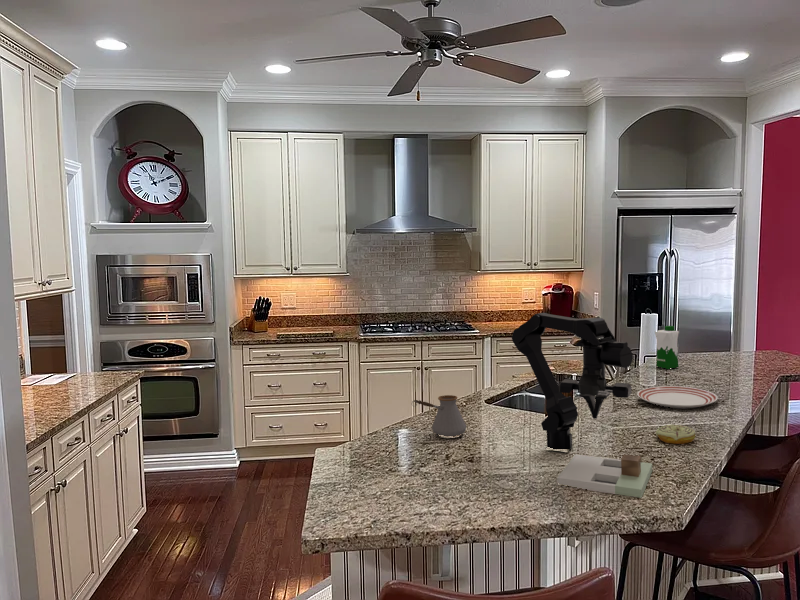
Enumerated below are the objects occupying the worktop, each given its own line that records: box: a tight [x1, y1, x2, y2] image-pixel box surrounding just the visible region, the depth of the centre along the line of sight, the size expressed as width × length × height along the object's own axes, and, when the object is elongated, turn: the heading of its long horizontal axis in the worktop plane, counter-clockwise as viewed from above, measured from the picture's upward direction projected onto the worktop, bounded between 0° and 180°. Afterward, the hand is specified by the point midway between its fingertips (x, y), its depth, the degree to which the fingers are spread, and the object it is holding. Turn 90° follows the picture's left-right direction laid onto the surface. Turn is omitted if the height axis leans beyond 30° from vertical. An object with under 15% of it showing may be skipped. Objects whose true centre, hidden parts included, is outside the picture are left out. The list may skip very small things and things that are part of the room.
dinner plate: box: [636, 385, 718, 409], centre depth 223 cm, size 27×27×3 cm
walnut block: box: [620, 453, 642, 477], centre depth 150 cm, size 4×4×4 cm
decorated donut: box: [655, 423, 696, 445], centre depth 180 cm, size 10×11×4 cm
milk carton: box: [654, 325, 680, 370], centre depth 284 cm, size 9×9×20 cm
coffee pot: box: [411, 394, 467, 436], centre depth 192 cm, size 21×12×15 cm, turn 132°
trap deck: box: [556, 453, 653, 499], centre depth 153 cm, size 20×19×2 cm
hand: (595, 418), depth 166 cm, fingers closed
